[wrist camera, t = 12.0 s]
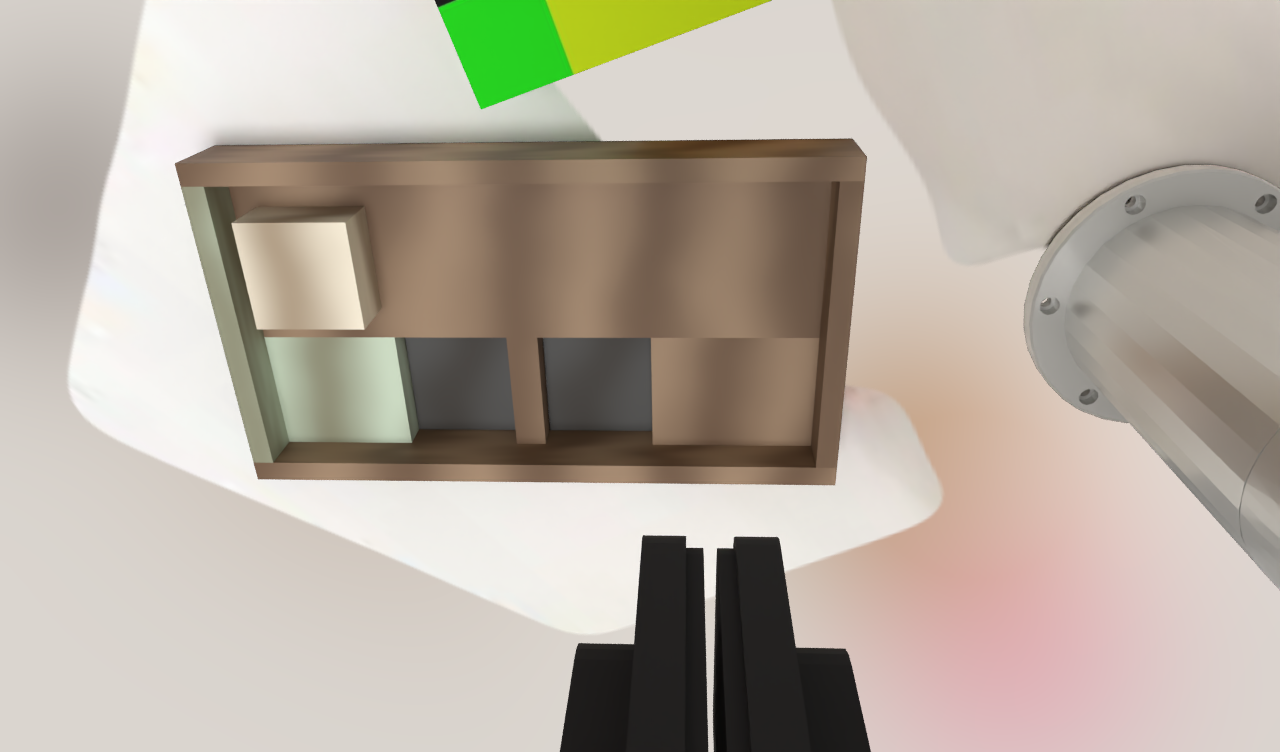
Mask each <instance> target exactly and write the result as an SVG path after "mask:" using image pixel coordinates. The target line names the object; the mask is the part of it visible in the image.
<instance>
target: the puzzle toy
mask: <svg viewBox="0 0 1280 752" xmlns="http://www.w3.org/2000/svg"><path fill="white" fill-rule="evenodd" d="M769 1H771V0H435V2H436V4H437V7H438V9H439V11H440V14H441V16H442V18H443V21H444V23H445V26H446V28H447V30H448V33H449V35H450V37H451V40H452V42H453V44H454V47H455V49H456V51H457V54H458V56H459V59H460V61H461V63H462V66H463V68H464V70H465V73H466V75H467V77H468V80H469V82H470V84H471V87H472V89H473V92H474V94H475V96H476V99H477V101H478V103H479V106H480V108H481V109H483V108H486V107H489V106H491V105H494V104H497V103H499V102H502V101H505V100H507V99H510V98H513V97H515V96H518V95H521V94H523V93H526V92H529V91H531V90H534V89H537V88H539V87H542V86H545V85H547V84H550V83H553V82H555V81H558V80H560V79H563V78H566V77H569V76H571V75H574V74H577V73H579V72H582V71H585V70H587V69H590V68H593V67H595V66H598V65H601V64H603V63H606V62H609V61H611V60H614V59H617V58H619V57H622V56H625V55H627V54H630V53H633V52H635V51H638V50H641V49H643V48H646V47H649V46H651V45H654V44H657V43H659V42H662V41H664V40H668V39H670V38H673V37H675V36H678V35H681V34H684V33H686V32H689V31H691V30H694V29H697V28H699V27H702V26H704V25H707V24H710V23H713V22H716V21H718V20H721V19H723V18H726V17H729V16H731V15H734V14H737V13H740V12H742V11H745V10H747V9H750V8H753V7H756V6H758V5H761V4H763V3H766V2H769Z"/></svg>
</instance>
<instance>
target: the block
mask: <svg viewBox="0 0 1280 752" xmlns="http://www.w3.org/2000/svg"><path fill="white" fill-rule="evenodd" d="M231 224H232V228H233V232H234V236H235V240H236V244H237V249H238V253H239V257H240V261H241V265H242V269H243V273H244V278H245V282H246V286H247V290H248V294H249V298H250V302H251V306H252V311H253V315H254V319H255V323H256V327H257V329H329V330H364V329H365V328H366V327H367V326H368V325H369V323H370V322H371V321H372V320H373V318H374V317H375V316H376V315H377V314H378V312H379V311H380V310H381V309H382V307H381V301H380V295H379V289H378V283H377V277H376V271H375V265H374V259H373V253H372V247H371V241H370V236H369V230H368V224H367V218H366V212H365V206H313V207H256V208H254V209H253V210H251V211H250V212H248V213H247V214H245V215H243V216H242V217H240V218H239V219H237V220H236V221H234V222H232V223H231Z"/></svg>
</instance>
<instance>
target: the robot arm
mask: <svg viewBox="0 0 1280 752" xmlns="http://www.w3.org/2000/svg"><path fill="white" fill-rule="evenodd" d="M1130 197H1131V200H1130V202H1129V203H1127V204H1125V203H1126V202H1127V200H1128V199H1129V198H1130ZM1046 298H1048V299H1047V301H1046V302H1044V303H1041V302H1042V301H1043V300H1045V299H1046ZM1024 332H1025V338H1026V343H1027V348H1028V351H1029V353H1030V355H1031V358H1032V360H1033V362H1034V364H1035V366H1036V368H1037V370H1038V371H1039V372H1040V374H1041V375H1042V376H1043V378H1044V379H1045V381H1046V382H1047V383H1048V385H1049V386H1050V387H1052V389H1053V390H1054V391H1055V392H1056V393H1057V394H1058V395H1059V396H1060V397H1061V398H1062V399H1063V400H1065V401H1066V402H1068V403H1069V404H1071V405H1073V406H1074V407H1075V408H1077V409H1079V410H1081V411H1083V412H1086V413H1088V414H1091V415H1094V416H1096V417H1099V418H1102V419H1107V420H1112V421H1118V422H1124V423H1130V424H1131V425H1132V426H1133V427H1134V429H1135V430H1136V431H1137V432H1138V433H1139V434H1140V435H1141V436H1142V437H1143V439H1144V440H1145V441H1146V442H1147V443H1148V444H1149V445H1150V446H1151V447H1152V449H1153V450H1154V451H1155V452H1156V453H1157V454H1158V455H1159V456H1160V457H1161V459H1162V460H1163V461H1164V462H1165V463H1166V464H1167V465H1168V466H1169V467H1170V469H1171V470H1172V471H1173V472H1174V473H1175V474H1176V475H1177V476H1178V477H1179V478H1180V480H1181V481H1182V482H1183V483H1184V484H1185V485H1186V486H1187V488H1189V490H1190V491H1191V492H1192V493H1193V494H1194V495H1195V496H1196V498H1197V499H1198V500H1199V501H1200V502H1201V503H1202V504H1203V505H1204V506H1205V508H1206V509H1207V510H1208V511H1209V512H1210V513H1211V514H1212V515H1213V517H1214V518H1215V519H1216V520H1217V521H1218V522H1219V523H1220V524H1221V525H1222V527H1223V528H1224V529H1225V530H1226V531H1227V532H1228V533H1229V534H1230V535H1231V537H1232V538H1233V539H1234V540H1235V541H1236V542H1237V543H1238V544H1239V545H1240V546H1241V548H1243V550H1244V551H1245V552H1246V553H1247V554H1248V555H1249V556H1250V558H1251V559H1252V560H1253V561H1254V562H1255V563H1256V564H1257V566H1258V567H1259V568H1260V569H1261V570H1262V571H1263V573H1264V574H1265V575H1266V576H1267V577H1268V578H1269V579H1270V580H1271V581H1272V582H1273V583H1274V585H1275V586H1276V587H1277V588H1278V589H1279V590H1280V188H1278V187H1276V186H1274V185H1273V184H1271V183H1269V182H1267V181H1266V180H1264V179H1262V178H1260V177H1257V176H1254V175H1252V174H1249V173H1247V172H1244V171H1242V170H1239V169H1233V168H1228V167H1223V166H1217V165H1182V166H1177V167H1171V168H1166V169H1161V170H1155V171H1153V172H1150V173H1147V174H1144V175H1142V176H1139V177H1136V178H1133V179H1131V180H1128V181H1126V182H1124V183H1122V184H1120V185H1119V186H1117V187H1115V188H1113V189H1111V190H1109V191H1108V192H1106V193H1104V194H1102V195H1100V196H1099V197H1098V198H1096V199H1095V200H1094V201H1093V202H1091V203H1090V204H1089V205H1087V206H1086V207H1085V208H1083V209H1082V210H1081V211H1079V212H1078V213H1077V214H1076V215H1075V216H1074V217H1073V218H1072V219H1071V220H1070V221H1069V222H1068V223H1067V224H1066V225H1065V226H1064V227H1063V229H1062V230H1061V231H1060V232H1059V233H1058V234H1057V235H1056V236H1055V238H1054V239H1053V241H1052V242H1051V244H1050V245H1049V247H1048V248H1047V249H1046V251H1045V253H1044V254H1043V255H1042V257H1041V259H1040V261H1039V263H1038V265H1037V267H1036V270H1035V272H1034V274H1033V276H1032V278H1031V281H1030V284H1029V288H1028V292H1027V296H1026V300H1025V304H1024ZM714 651H715V652H714V693H713V737H714V752H871V751H870V746H869V741H868V737H867V733H866V728H865V723H864V719H863V714H862V710H861V706H860V701H859V697H858V692H857V688H856V683H855V679H854V674H853V670H852V665H851V662H850V658H849V655H848V653H847V651H846V649H834V648H796V646H795V640H794V633H793V626H792V619H791V613H790V606H789V599H788V593H787V586H786V580H785V573H784V566H783V560H782V553H781V546H780V541H779V538H778V537H734V544H733V549H729V548H717V564H716V607H715V649H714ZM707 722H708V720H707V679H706V638H705V597H704V556H703V548H686V536H645V535H643V537H642V548H641V561H640V575H639V588H638V601H637V614H636V627H635V641H634V644H586V643H579V644H578V646H577V649H576V654H575V659H574V666H573V672H572V678H571V685H570V691H569V697H568V703H567V710H566V716H565V723H564V729H563V736H562V742H561V748H560V752H708V725H707V724H708V723H707Z"/></svg>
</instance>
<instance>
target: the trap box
mask: <svg viewBox="0 0 1280 752" xmlns="http://www.w3.org/2000/svg"><path fill="white" fill-rule="evenodd" d="M866 161H867V156H866V155H865V154H864V153H863V151H862V150H861V149H860V147H859V146H858V145H857V144H856V143H855V141H854V140H853V139H772V140H683V141H682V140H680V141H586V142H495V143H403V144H311V145H219V146H213V147H210V148H208V149H206V150H204V151H202V152H199V153H197V154H195V155H193V156H190V157H188V158H186V159H184V160H182V161H179V162H177V163H175V166H176V170H177V174H178V178H179V181H180V185H181V189H182V193H183V197H184V200H185V204H186V208H187V212H188V216H189V219H190V223H191V227H192V231H193V234H194V238H195V242H196V246H197V250H198V253H199V257H200V261H201V265H202V269H203V272H204V276H205V280H206V284H207V288H208V291H209V295H210V299H211V303H212V306H213V310H214V314H215V318H216V322H217V325H218V329H219V333H220V337H221V341H222V344H223V348H224V352H225V356H226V360H227V363H228V367H229V371H230V375H231V378H232V382H233V386H234V390H235V394H236V397H237V401H238V405H239V409H240V413H241V416H242V420H243V424H244V428H245V432H246V435H247V439H248V443H249V447H250V450H251V454H252V458H253V462H254V466H255V469H256V473H257V477H258V479H291V480H388V481H486V482H583V483H680V484H777V485H835V481H836V471H837V460H838V450H839V440H840V429H841V419H842V409H843V399H844V388H845V377H846V368H847V356H848V347H849V337H850V326H851V315H852V306H853V295H854V285H855V274H856V264H857V254H858V244H859V234H860V223H861V213H862V202H863V192H864V182H865V172H866ZM313 206H365V212H366V218H367V224H368V230H369V236H370V241H371V247H372V253H373V259H374V265H375V271H376V277H377V283H378V289H379V295H380V301H381V307H382V309H381V310H380V311H379V312H378V314H377V315H376V316H375V317H374V318H373V320H372V321H371V322H370V323H369V325H368V326H367V327H366V328H365V329H364V330H329V329H257V327H256V323H255V319H254V315H253V311H252V306H251V302H250V298H249V294H248V290H247V286H246V282H245V278H244V273H243V269H242V265H241V261H240V257H239V253H238V249H237V244H236V240H235V236H234V232H233V228H232V224H231V223H232V222H234V221H236V220H237V219H239V218H240V217H242V216H243V215H245V214H247V213H248V212H250V211H251V210H253V209H254V208H256V207H313ZM543 344H544V347H543ZM544 356H545V360H544ZM545 369H546V372H545ZM546 382H547V385H546ZM547 395H548V398H547ZM548 407H549V410H548ZM549 420H550V423H549Z"/></svg>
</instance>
